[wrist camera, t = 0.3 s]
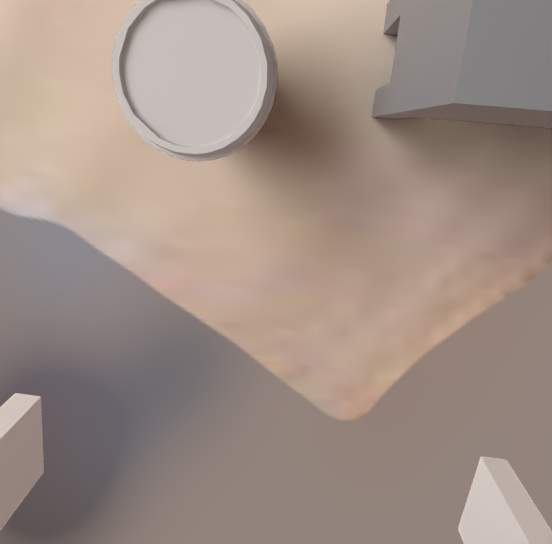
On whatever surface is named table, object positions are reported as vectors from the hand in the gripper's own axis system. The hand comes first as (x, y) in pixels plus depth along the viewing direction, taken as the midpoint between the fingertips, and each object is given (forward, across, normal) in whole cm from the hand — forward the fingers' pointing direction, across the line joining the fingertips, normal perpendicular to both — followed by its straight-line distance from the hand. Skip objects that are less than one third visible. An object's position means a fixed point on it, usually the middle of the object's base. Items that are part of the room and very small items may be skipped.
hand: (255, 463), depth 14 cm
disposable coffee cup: (+28, -6, +12) cm, 31 cm away
